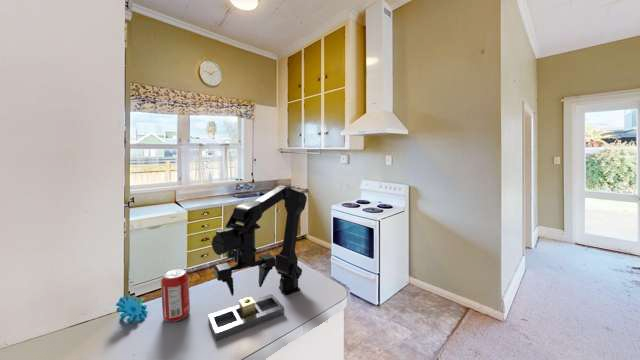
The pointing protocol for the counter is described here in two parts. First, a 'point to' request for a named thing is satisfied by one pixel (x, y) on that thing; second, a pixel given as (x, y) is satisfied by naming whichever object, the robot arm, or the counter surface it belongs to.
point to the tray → (246, 322)
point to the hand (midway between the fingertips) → (246, 290)
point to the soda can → (175, 295)
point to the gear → (131, 308)
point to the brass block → (246, 307)
